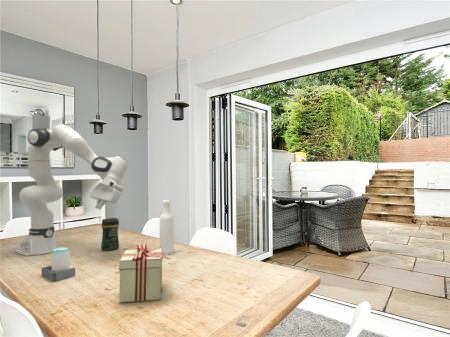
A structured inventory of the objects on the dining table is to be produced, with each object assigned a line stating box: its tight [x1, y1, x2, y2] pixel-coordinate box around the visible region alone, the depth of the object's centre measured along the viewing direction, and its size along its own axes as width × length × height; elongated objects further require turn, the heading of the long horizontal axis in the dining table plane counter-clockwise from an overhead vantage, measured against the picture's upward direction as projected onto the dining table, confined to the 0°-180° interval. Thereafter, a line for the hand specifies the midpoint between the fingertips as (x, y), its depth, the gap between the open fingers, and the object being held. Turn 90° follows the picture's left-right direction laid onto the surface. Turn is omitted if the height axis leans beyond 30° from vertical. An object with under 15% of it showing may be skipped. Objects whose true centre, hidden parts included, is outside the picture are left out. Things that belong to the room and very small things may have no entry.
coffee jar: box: [100, 217, 120, 252], centre depth 167 cm, size 10×8×19 cm
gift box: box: [118, 243, 171, 303], centre depth 108 cm, size 17×18×17 cm
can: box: [50, 246, 71, 273], centre depth 125 cm, size 7×7×12 cm
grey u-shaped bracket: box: [41, 265, 76, 283], centre depth 125 cm, size 9×12×4 cm
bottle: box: [159, 199, 175, 256], centre depth 159 cm, size 8×8×30 cm
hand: (97, 208), depth 146 cm, fingers closed
